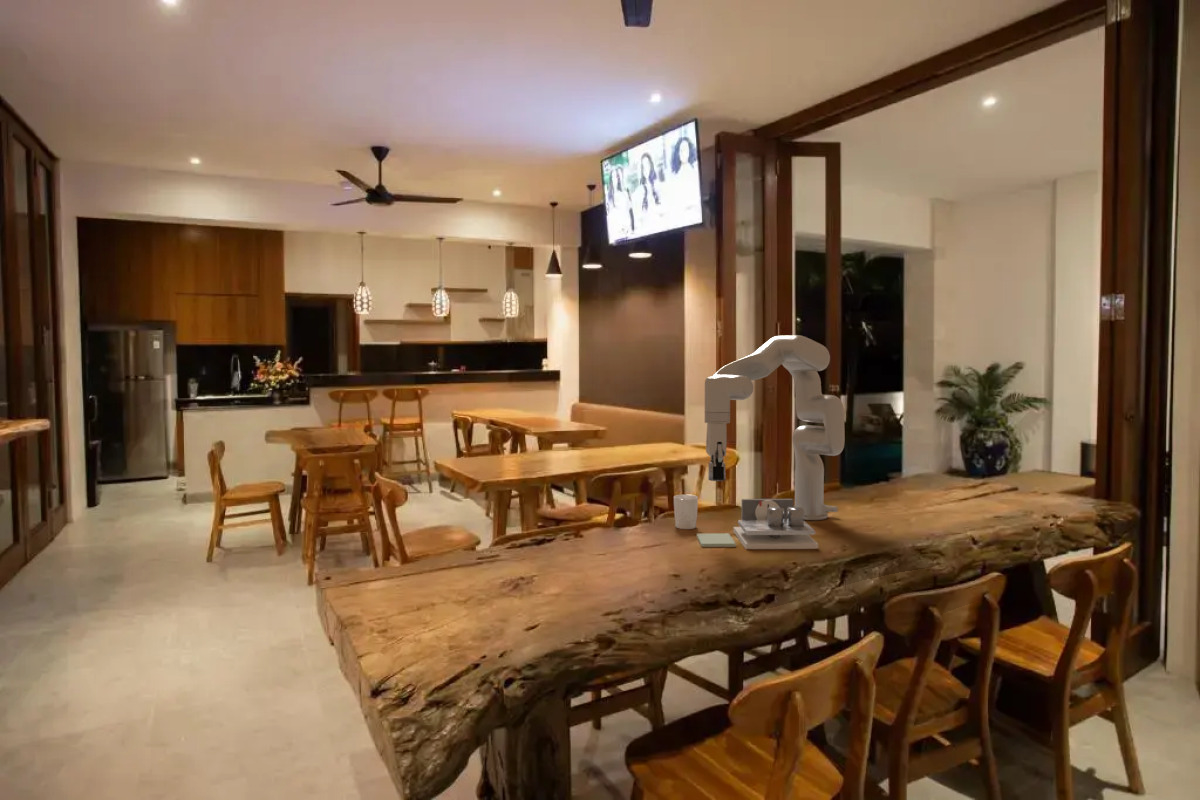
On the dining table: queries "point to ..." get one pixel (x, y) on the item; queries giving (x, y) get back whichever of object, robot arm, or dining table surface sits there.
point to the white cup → (685, 511)
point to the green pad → (716, 540)
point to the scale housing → (758, 511)
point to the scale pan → (773, 528)
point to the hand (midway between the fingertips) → (716, 477)
